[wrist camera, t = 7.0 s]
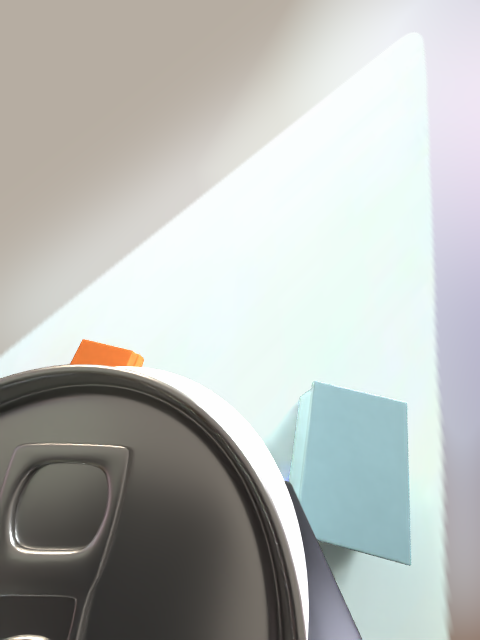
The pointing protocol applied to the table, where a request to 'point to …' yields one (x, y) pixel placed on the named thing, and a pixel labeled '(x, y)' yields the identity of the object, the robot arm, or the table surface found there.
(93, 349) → the orange rectangular block
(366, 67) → the table surface
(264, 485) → the can
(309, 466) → the box
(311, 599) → the robot arm
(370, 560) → the table surface
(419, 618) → the table surface
